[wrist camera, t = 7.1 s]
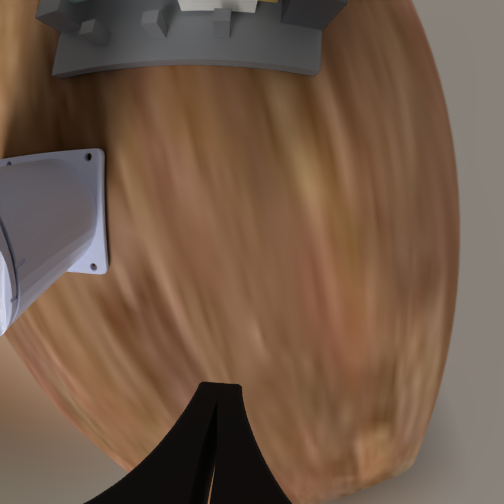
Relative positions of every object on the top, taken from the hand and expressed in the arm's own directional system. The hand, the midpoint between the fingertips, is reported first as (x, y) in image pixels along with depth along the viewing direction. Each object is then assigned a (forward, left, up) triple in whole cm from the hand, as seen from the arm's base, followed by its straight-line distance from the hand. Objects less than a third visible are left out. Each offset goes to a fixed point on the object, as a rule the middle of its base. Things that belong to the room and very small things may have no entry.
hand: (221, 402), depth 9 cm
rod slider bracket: (-4, +18, -10) cm, 21 cm away
